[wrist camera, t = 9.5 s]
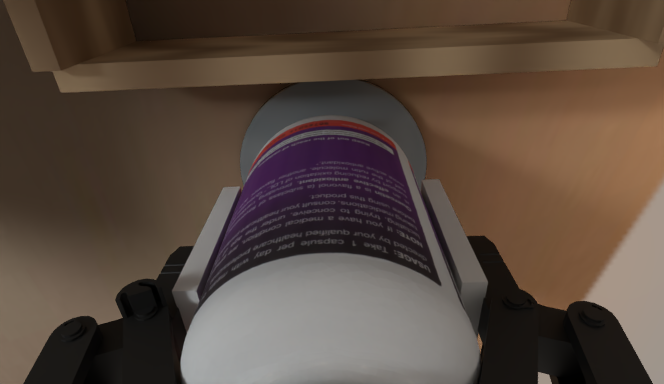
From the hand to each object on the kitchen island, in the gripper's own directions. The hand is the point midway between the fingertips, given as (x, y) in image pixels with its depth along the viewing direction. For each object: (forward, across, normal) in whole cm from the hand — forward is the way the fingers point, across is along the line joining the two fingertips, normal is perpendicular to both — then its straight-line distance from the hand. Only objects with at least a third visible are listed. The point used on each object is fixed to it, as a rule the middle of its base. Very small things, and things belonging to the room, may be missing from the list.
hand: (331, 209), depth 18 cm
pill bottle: (+3, 0, 0) cm, 3 cm away
